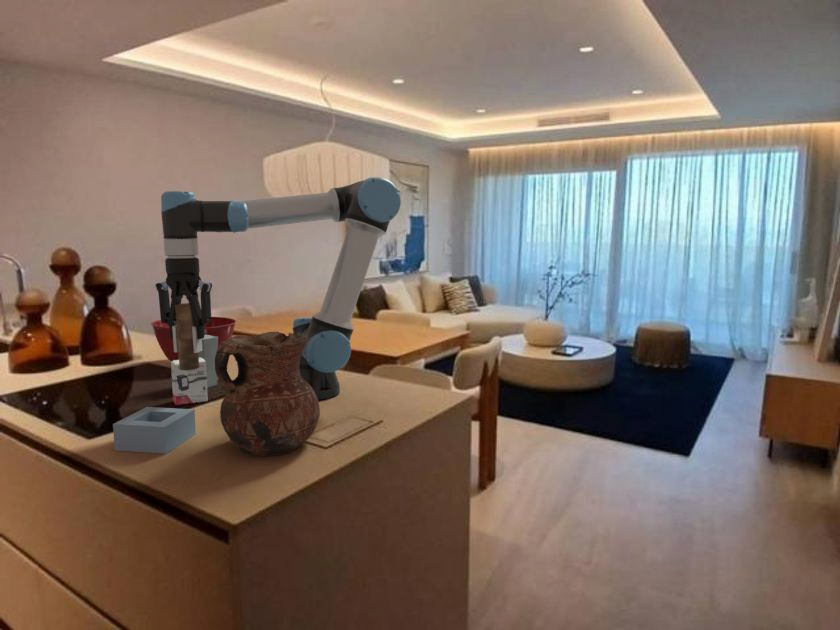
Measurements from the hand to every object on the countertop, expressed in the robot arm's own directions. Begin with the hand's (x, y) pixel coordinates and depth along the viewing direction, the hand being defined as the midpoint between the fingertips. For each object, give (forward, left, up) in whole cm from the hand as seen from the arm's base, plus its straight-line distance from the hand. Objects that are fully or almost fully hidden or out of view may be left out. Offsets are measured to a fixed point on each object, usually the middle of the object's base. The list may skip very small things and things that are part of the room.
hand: (188, 351), depth 135 cm
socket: (0, +14, -18) cm, 23 cm away
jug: (-26, +12, -18) cm, 34 cm away
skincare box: (+14, -31, -18) cm, 38 cm away
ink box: (+9, -15, -18) cm, 26 cm away
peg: (0, 0, -4) cm, 4 cm away
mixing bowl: (+31, -58, -18) cm, 69 cm away
